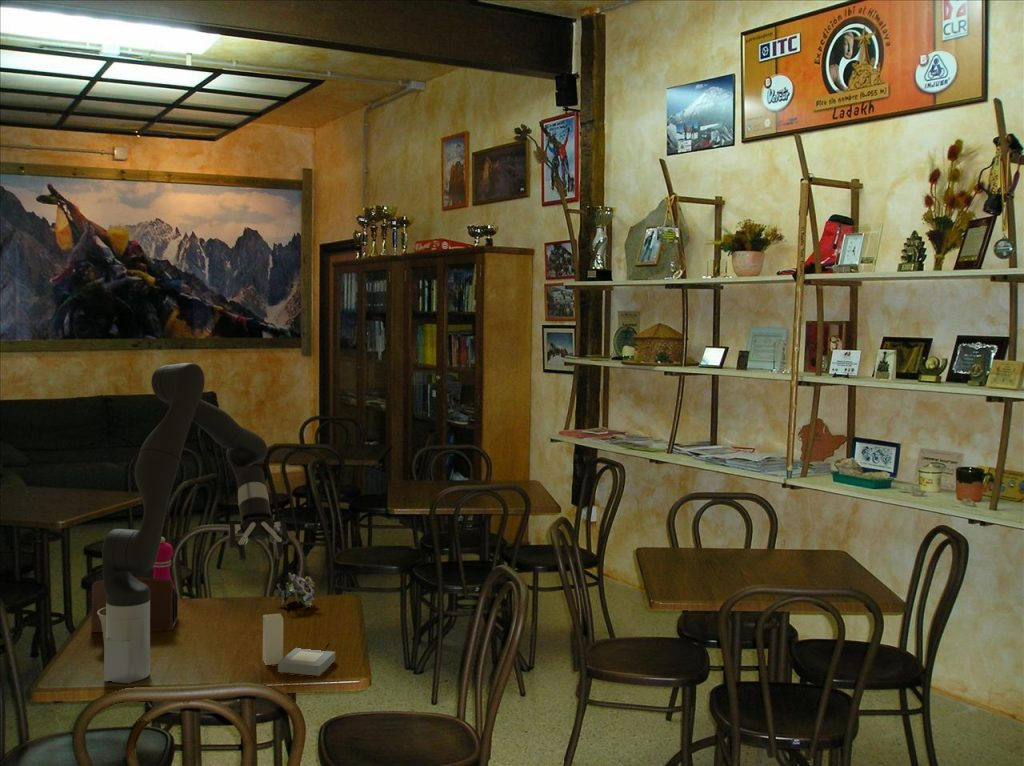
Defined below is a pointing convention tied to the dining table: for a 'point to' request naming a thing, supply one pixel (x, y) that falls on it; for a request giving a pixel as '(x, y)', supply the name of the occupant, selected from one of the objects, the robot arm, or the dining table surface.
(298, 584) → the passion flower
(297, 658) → the slab
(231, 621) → the dining table surface
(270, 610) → the dining table surface
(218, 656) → the dining table surface
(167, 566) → the pepper mill
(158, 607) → the letter holder
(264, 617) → the pillar
